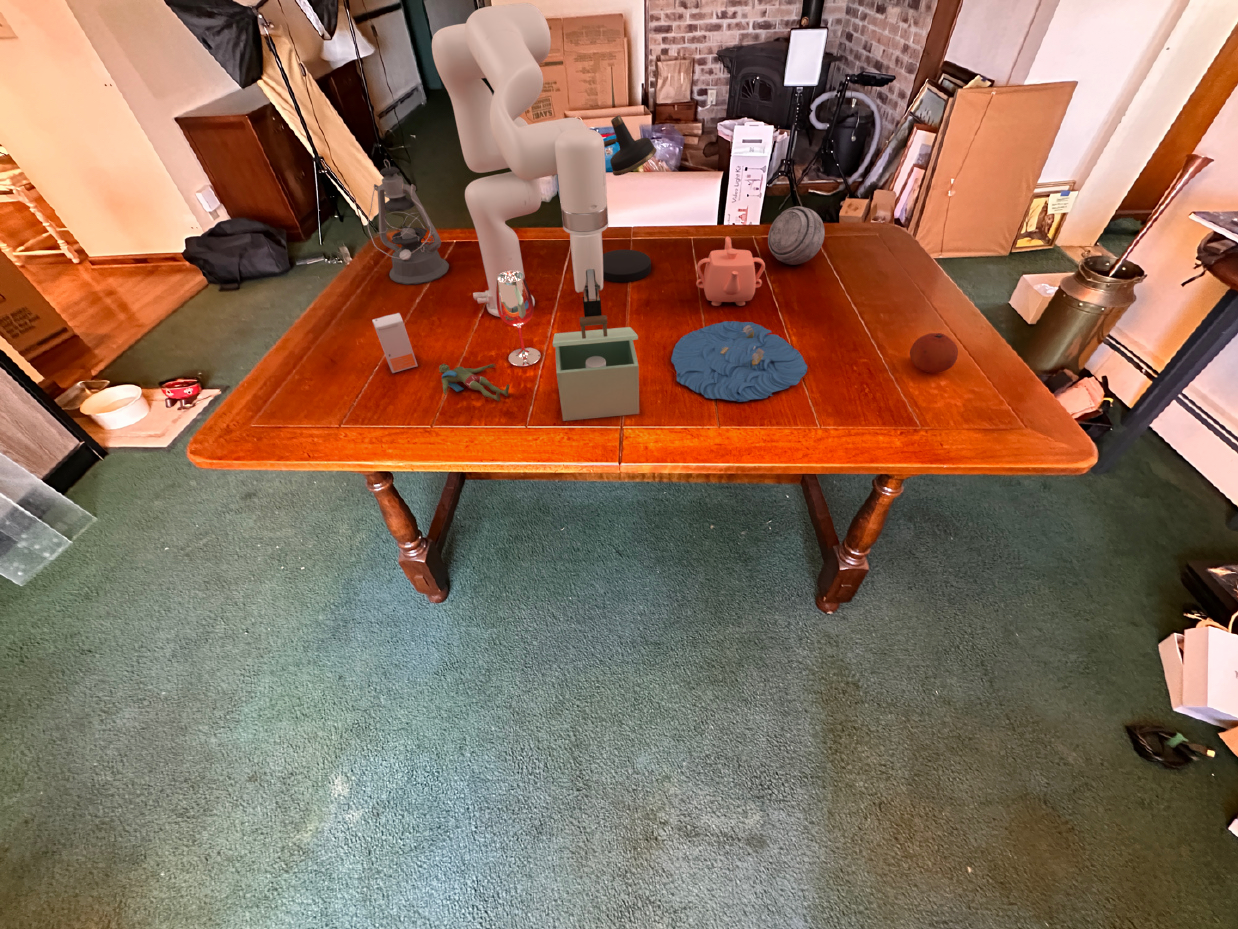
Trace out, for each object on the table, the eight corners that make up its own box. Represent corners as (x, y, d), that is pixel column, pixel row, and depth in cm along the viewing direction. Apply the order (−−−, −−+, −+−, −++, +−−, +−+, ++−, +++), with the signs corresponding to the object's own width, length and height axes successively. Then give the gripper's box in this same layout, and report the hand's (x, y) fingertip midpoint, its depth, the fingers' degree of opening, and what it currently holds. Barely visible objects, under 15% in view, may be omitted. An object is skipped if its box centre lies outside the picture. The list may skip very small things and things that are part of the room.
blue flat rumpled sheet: (795, 421, 112) (801, 401, 108) (654, 392, 120) (654, 372, 116) (814, 339, 131) (819, 320, 127) (690, 319, 139) (691, 300, 135)
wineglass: (546, 351, 131) (534, 270, 117) (532, 369, 126) (518, 287, 112) (517, 346, 133) (501, 265, 119) (501, 364, 128) (484, 282, 114)
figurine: (478, 402, 111) (412, 374, 117) (479, 418, 113) (415, 390, 120) (526, 372, 122) (464, 348, 128) (527, 388, 124) (465, 364, 131)
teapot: (730, 319, 139) (736, 270, 130) (684, 295, 148) (686, 248, 139) (770, 299, 145) (778, 251, 136) (723, 277, 154) (728, 231, 146)
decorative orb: (755, 258, 162) (762, 205, 152) (793, 246, 167) (803, 194, 156) (790, 278, 153) (800, 222, 142) (829, 265, 157) (842, 210, 147)
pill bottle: (607, 410, 114) (604, 370, 107) (582, 406, 115) (578, 367, 108) (614, 394, 117) (612, 355, 110) (590, 391, 118) (586, 352, 112)
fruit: (896, 362, 123) (908, 330, 118) (928, 353, 125) (941, 321, 120) (926, 384, 117) (940, 351, 112) (958, 373, 119) (974, 341, 114)
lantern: (384, 293, 155) (342, 178, 134) (388, 263, 169) (351, 154, 148) (450, 284, 157) (419, 169, 136) (448, 254, 171) (420, 146, 150)
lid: (638, 339, 102) (636, 313, 100) (552, 347, 101) (549, 321, 99) (630, 330, 114) (629, 307, 113) (554, 337, 113) (552, 314, 112)
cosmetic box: (392, 374, 127) (374, 328, 118) (389, 365, 130) (371, 319, 121) (419, 366, 129) (403, 320, 120) (415, 357, 131) (399, 311, 123)
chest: (639, 413, 114) (638, 365, 105) (563, 421, 113) (556, 373, 105) (631, 377, 123) (630, 330, 114) (561, 384, 122) (555, 337, 114)
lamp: (656, 281, 154) (658, 123, 127) (578, 284, 155) (563, 126, 128) (654, 256, 166) (655, 105, 138) (581, 258, 166) (568, 109, 139)
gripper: (561, 202, 96) (571, 300, 109) (563, 237, 86) (575, 340, 99) (604, 199, 97) (609, 296, 110) (612, 233, 86) (617, 336, 99)
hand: (593, 317), depth 104 cm, fingers closed
